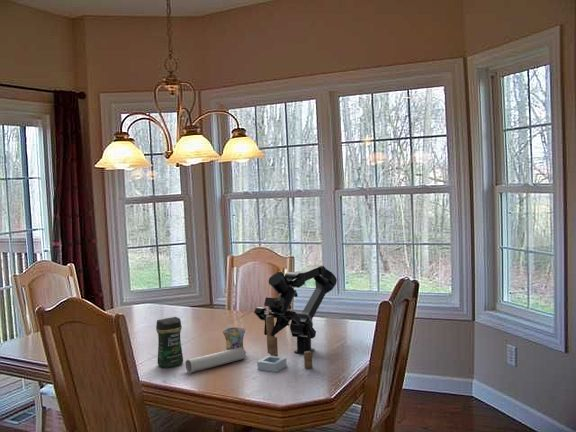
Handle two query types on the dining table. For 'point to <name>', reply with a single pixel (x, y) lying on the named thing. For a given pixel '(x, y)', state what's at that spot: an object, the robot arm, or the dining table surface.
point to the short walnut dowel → (308, 360)
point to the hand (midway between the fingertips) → (268, 335)
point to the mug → (234, 337)
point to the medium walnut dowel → (275, 348)
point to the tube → (214, 359)
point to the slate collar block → (271, 363)
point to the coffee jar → (169, 342)
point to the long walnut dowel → (269, 331)
